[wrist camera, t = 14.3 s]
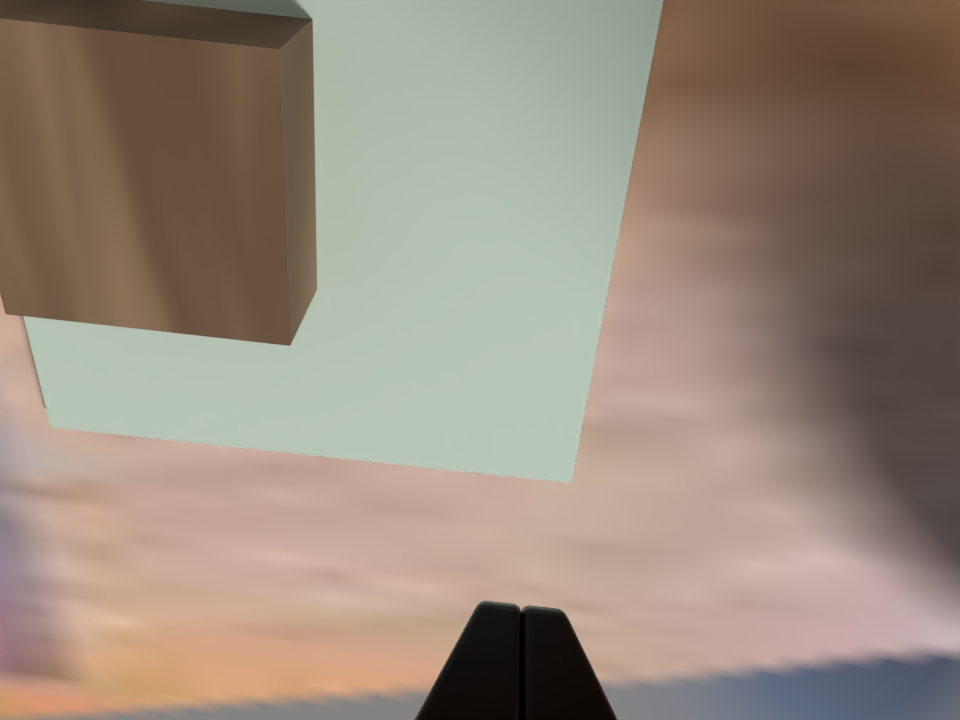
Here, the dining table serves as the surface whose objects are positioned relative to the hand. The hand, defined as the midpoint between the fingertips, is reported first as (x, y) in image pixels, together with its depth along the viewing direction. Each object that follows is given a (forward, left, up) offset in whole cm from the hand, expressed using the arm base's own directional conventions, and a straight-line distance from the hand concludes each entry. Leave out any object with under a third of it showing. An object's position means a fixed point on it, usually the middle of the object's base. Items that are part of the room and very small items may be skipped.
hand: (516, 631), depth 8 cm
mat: (+5, 0, -12) cm, 13 cm away
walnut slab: (+5, 0, -10) cm, 11 cm away
